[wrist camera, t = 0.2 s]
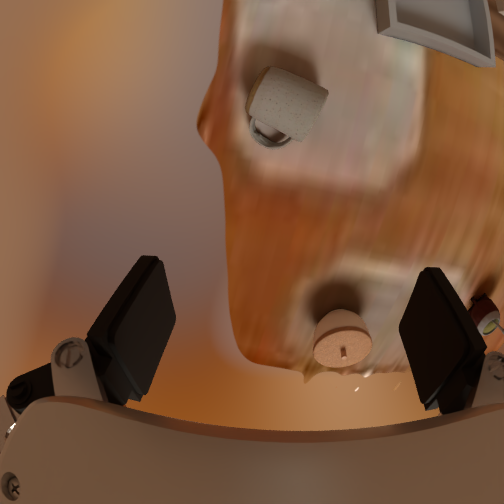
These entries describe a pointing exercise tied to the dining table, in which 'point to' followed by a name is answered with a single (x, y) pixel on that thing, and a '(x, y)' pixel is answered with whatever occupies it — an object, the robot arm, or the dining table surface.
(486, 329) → the mate gourd
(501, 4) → the beige block
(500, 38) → the walnut tray
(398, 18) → the tub
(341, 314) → the lidded jar
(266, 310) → the dining table surface
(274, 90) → the ceramic mug
